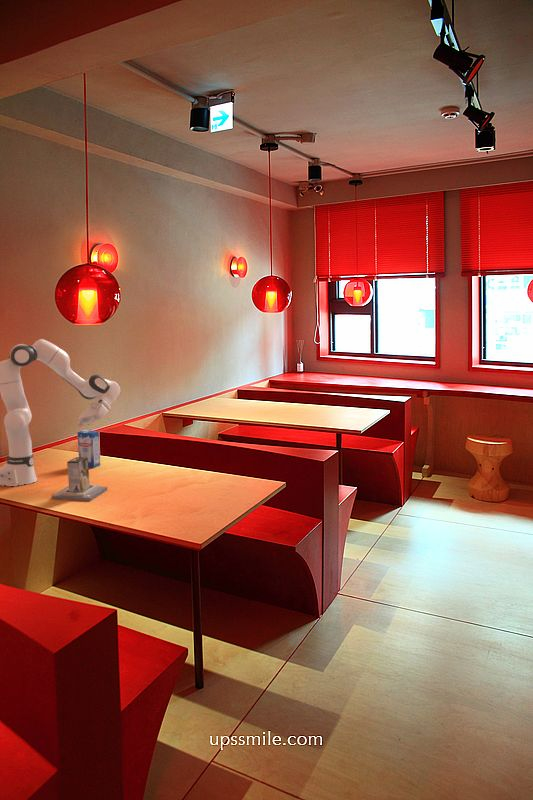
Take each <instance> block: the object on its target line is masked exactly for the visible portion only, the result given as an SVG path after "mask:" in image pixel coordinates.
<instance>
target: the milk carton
mask: <svg viewBox="0 0 533 800" xmlns="http://www.w3.org/2000/svg"><path fill="white" fill-rule="evenodd" d="M76 433H77V448H78V450H77V451H78V457H84V458H88V467H90V468H91V469H95V468H98V467H100V466H101V451H100V449H101V448H100V431H98V430H87V429H82V430H80V431H77V432H76ZM90 468H89V469H90Z"/></svg>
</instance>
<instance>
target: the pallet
mask: <svg viewBox="0 0 533 800" xmlns="http://www.w3.org/2000/svg"><path fill="white" fill-rule="evenodd" d="M89 485H90V489H88V490H87V491H85V492H83V493H73V492H69V485H68V486H66V487H64V488H63V489H61V490H59V491H57V492H56V493H54V494H53V495H51V499H52V500H63V499H66V501H83V502H92V501H94V500H95V499H96V498H97V497H99V496H101V495H102V494H103V493H105V492H106V491H108V490H107V489H108V486H100V485H99V484H90V483H89Z"/></svg>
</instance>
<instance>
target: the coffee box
mask: <svg viewBox="0 0 533 800" xmlns="http://www.w3.org/2000/svg"><path fill="white" fill-rule="evenodd" d="M66 463H67V465H66V467H67V478H68V479H67V480H68V486H69V492H73V493H83V492H85V491H87V490H88V489H90V485H91V484H90V471H89V470H90V468H88V458H84V457H79V456H77V457H73V458H71V459H70V460H68V461H67V462H66ZM89 484H90V485H89Z"/></svg>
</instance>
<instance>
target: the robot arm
mask: <svg viewBox="0 0 533 800" xmlns="http://www.w3.org/2000/svg"><path fill="white" fill-rule="evenodd" d="M36 360H37V361H40V362H41V363H43V364H44V365H46V366H47V367H49V368H50V369H51V370H53V371H54V372H55V373H56V374H57V375H58V376H59V377H60V378H62V379H63V380H64V381H65V382H67V383H68V384H69V385H71V386H72V387H73V388H74V389H75V390H77V392H78V393H79V394H80V396H81V397H82V398H83V399H86V400H92V401H91V403H90V407H89V408H87V409H85V410H84V411H83V412H82V413H81V414H80V415H79V417H78V421H79V423H77V427H79V428H81V427H83V426H84V423H86V424H87V425H88V426H91V425H92V423H94V422H95V421H96V420H100V419H102V418H104V417H105V415H106V414H107V413H108V412H110V411H111V410H112V407H111V405H112V404H113V403H114V402H115V401H116V400H117V399H118V397H119V395H120V394H121V387H120V385H119V384H118V383H117V382H116V381H115V380H109V379H106V378H104V377H103V376H101V375H99V374H93V375H91V376H90V377H89V378H87V379H86V380H85V379H83V378H82V377H81V376H80V375H78V374H77V372H76V373H75V372H74V371H73V369H72V368H71V358H70V356H69V354H68V353H67V352H66V351H65V350H63V349H62V348H60V346H57V345H56V344H54V343H52V342H51V341H49V340H46V339H44V338H40V339H38V340H36V341H35V342H34V343H33V344H32V345H27V344H25V343H18V344H16V345H14V346H13V347H12V348H11V350H10V353H9V356H8V358H7V359H4V360H1V361H0V398H1V400H2V401H3V403H4V406H5V409H6V411H7V413H6V414H5V416H4V419H3V423H4V424H3V425H4V428H5V429H4V430H5V433H6V438H7V443H8V444H7V445H8V456H7V457H5V458H4V461H6V463H5V464H3V465H2V466H1V467H0V486H4V485H6V487H11V486H14V487H18V485H19V486H25V485H24V484H26V485H30V484H32V483H33V482H34V483H35V482H37V481H38V478H37V475H36V472H35V468H34V463H35V462H34V454H33V446H32V445H33V444H32V437H31V434H30V428H29V424H30V423H31V421H32V417H33V415H32V411H31V408H30V406H29V403H28V400H27V397H26V395H25V390H24V386H23V380H22V377H21V368H23V367H27V366H29V365H30V364H32V363H33V362H34V361H36Z"/></svg>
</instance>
